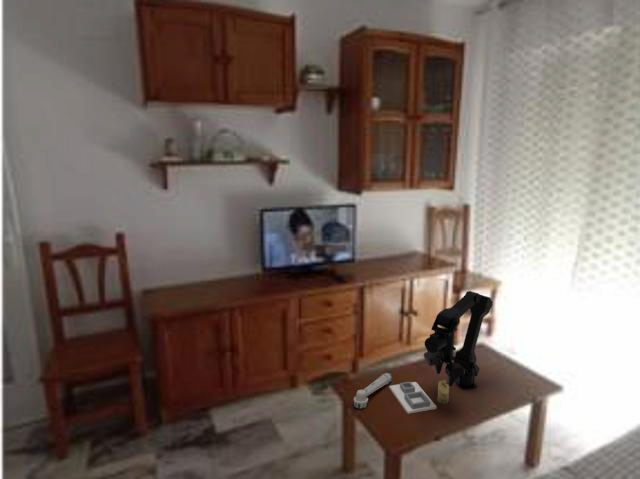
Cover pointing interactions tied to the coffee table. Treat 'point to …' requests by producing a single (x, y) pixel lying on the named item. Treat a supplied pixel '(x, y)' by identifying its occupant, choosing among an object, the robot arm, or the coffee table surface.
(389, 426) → the coffee table surface
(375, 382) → the white handheld shower head
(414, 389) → the white socket board
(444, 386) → the gold metallic cylinder
